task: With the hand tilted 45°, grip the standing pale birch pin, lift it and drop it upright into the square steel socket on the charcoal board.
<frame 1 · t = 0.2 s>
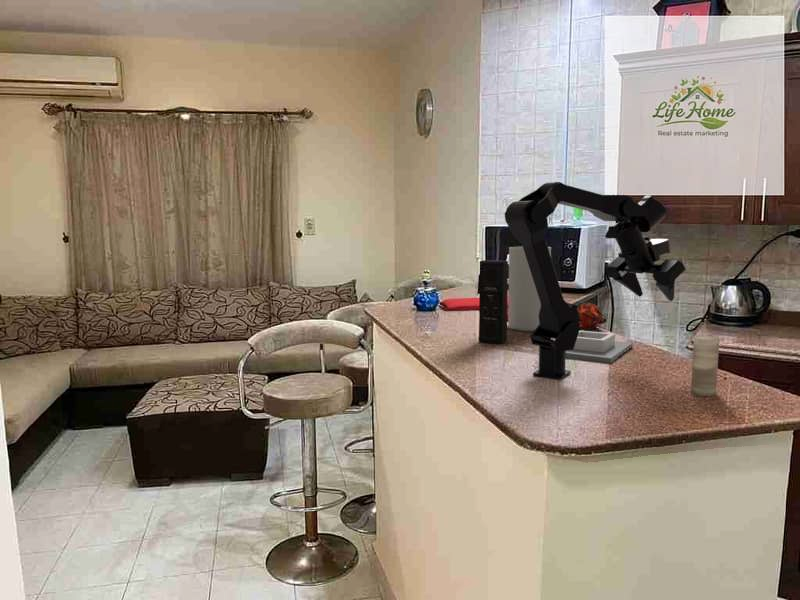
hand: (656, 297, 145), 15 cm above the table, tool tilted 35°, fingers open, 9 cm apart
dragon fruit: (589, 329, 187), on the table
portable radio: (491, 342, 170), on the table
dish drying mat: (494, 307, 234), on the table
birch pin: (703, 393, 119), on the table
cylinder vase: (528, 328, 189), on the table
decorative ornament: (502, 320, 205), on the table
socket board: (590, 351, 156), on the table
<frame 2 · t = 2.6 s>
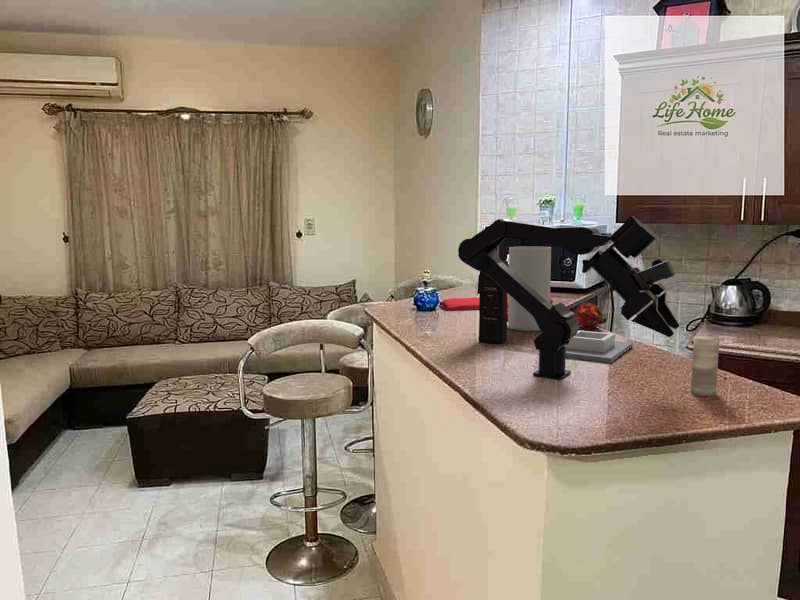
hand: (675, 331, 120), 12 cm above the table, tool tilted 45°, fingers open, 9 cm apart
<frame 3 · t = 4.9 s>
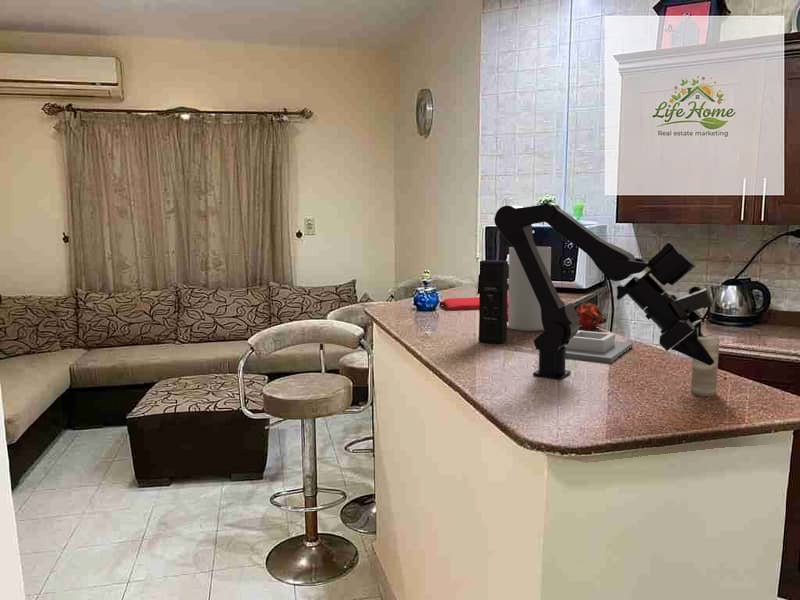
hand: (713, 361, 117), 7 cm above the table, tool tilted 45°, fingers closed on birch pin, 4 cm apart
birch pin: (703, 393, 119), on the table, touching gripper
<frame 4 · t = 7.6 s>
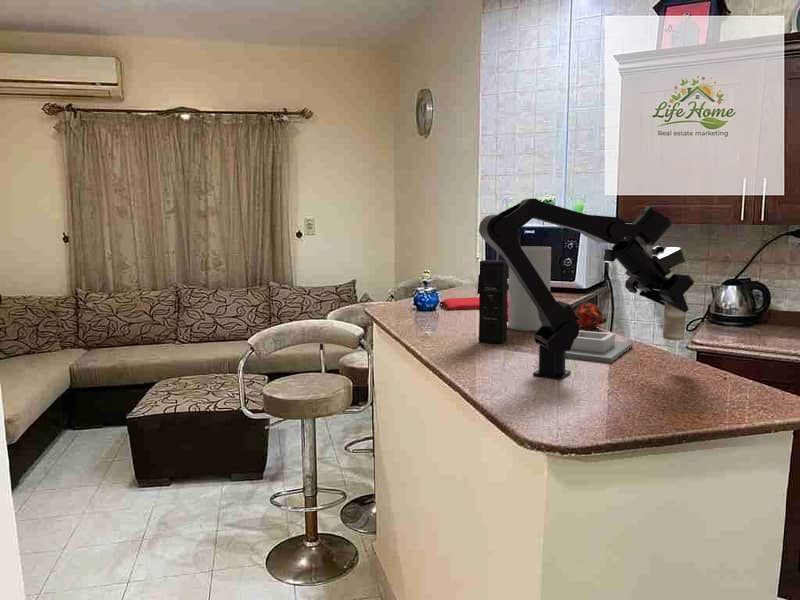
hand: (680, 309, 136), 13 cm above the table, tool tilted 45°, fingers closed on birch pin, 4 cm apart
birch pin: (673, 338, 137), point 7 cm above the table, touching gripper
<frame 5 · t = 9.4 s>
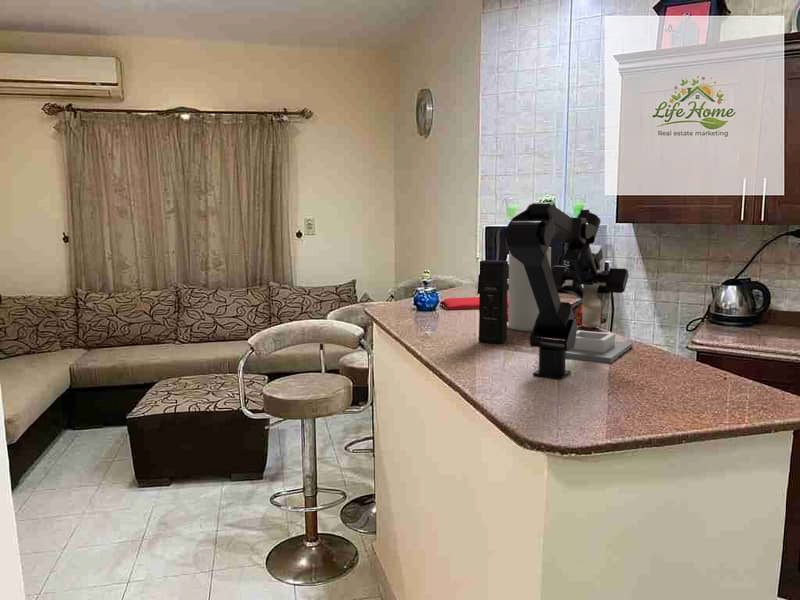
hand: (593, 299, 155), 13 cm above the table, tool tilted 45°, fingers closed on birch pin, 4 cm apart
birch pin: (591, 325, 155), point 7 cm above the table, touching gripper
when the fingers open (9 cm above the table, at t = 10.8 s): birch pin drops 1 cm, resting on socket board.
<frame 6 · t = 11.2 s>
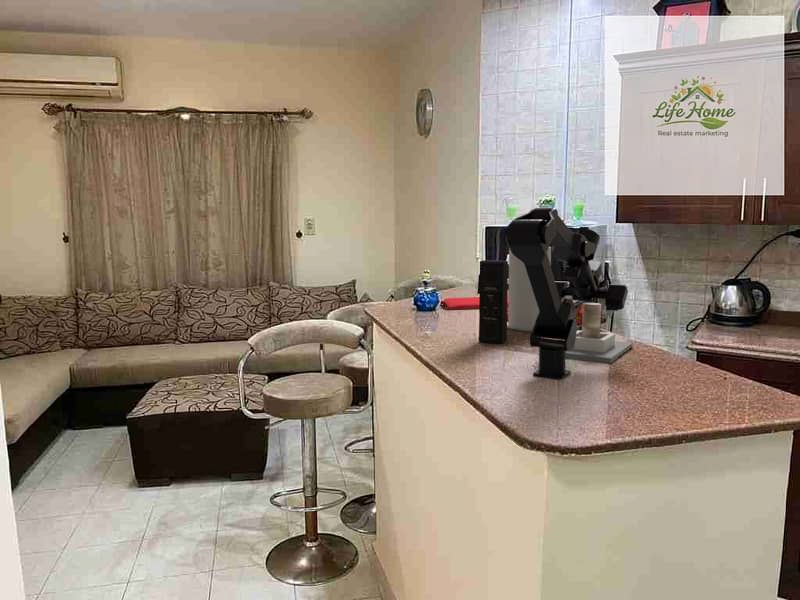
hand: (592, 314, 156), 9 cm above the table, tool tilted 45°, fingers open, 9 cm apart
birch pin: (590, 346, 156), point 1 cm above the table, touching socket board
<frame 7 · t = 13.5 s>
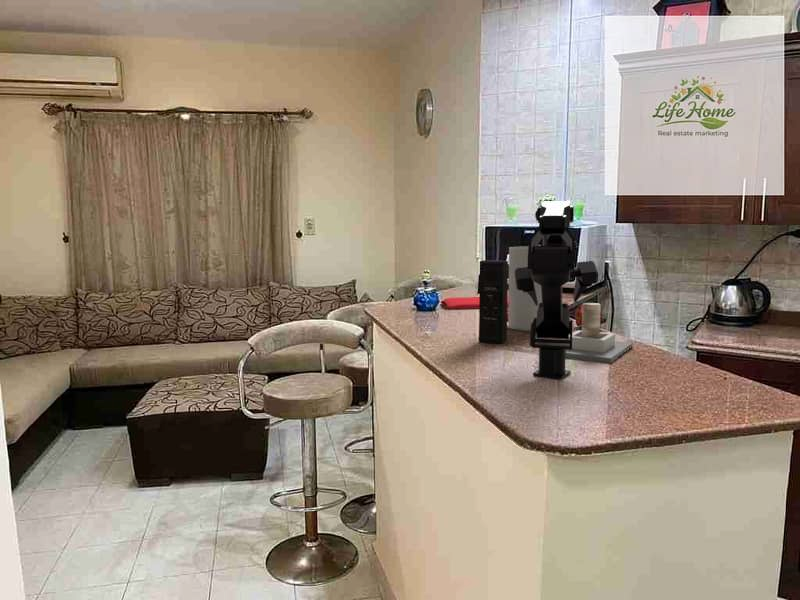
hand: (555, 302, 149), 13 cm above the table, tool tilted 30°, fingers open, 9 cm apart
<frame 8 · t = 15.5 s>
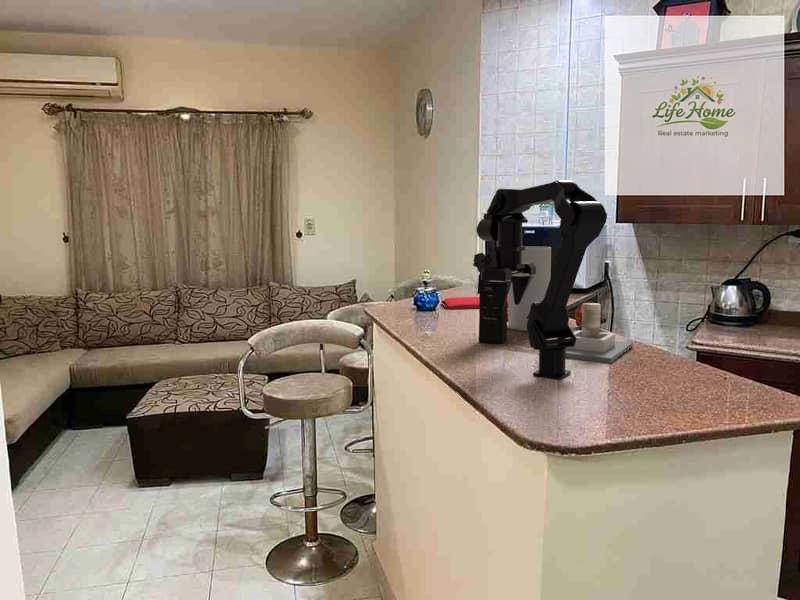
hand: (509, 306, 147), 13 cm above the table, tool pointing down, fingers open, 9 cm apart
at the end: birch pin 0.0 cm off-centre on the socket board, point 1.2 cm above the socket board's base; birch pin tilted 0°; the gripper is holding nothing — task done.
